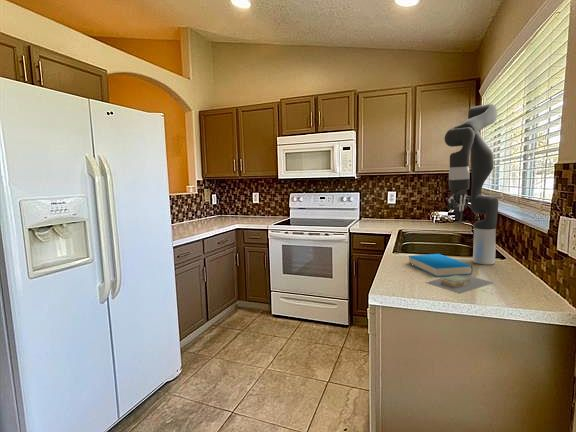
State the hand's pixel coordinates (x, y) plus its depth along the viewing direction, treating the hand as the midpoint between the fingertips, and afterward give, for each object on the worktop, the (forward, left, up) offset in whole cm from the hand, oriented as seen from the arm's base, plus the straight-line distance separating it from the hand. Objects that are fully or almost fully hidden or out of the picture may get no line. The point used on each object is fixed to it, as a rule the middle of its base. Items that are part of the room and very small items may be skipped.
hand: (458, 219), depth 137 cm
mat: (+6, +5, -25) cm, 26 cm away
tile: (+4, +5, -24) cm, 24 cm away
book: (-5, -13, -25) cm, 29 cm away
